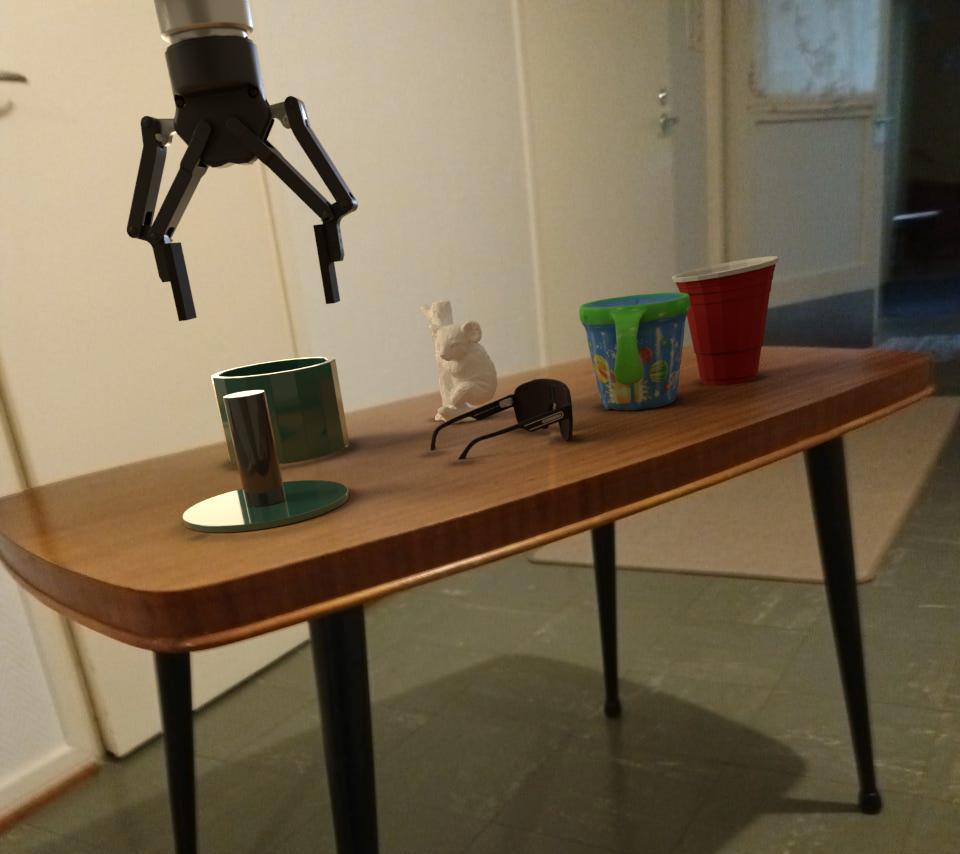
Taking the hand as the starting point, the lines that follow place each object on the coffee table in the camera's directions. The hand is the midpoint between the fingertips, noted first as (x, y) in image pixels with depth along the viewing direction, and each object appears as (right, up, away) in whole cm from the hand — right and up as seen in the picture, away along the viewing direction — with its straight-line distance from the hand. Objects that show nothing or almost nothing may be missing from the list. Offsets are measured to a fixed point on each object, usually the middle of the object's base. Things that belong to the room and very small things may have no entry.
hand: (260, 311), depth 89 cm
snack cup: (+36, -6, +9) cm, 38 cm away
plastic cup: (+47, -2, +17) cm, 49 cm away
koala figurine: (+18, -7, +13) cm, 24 cm away
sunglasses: (+22, -13, -2) cm, 26 cm away
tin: (+2, -12, +6) cm, 14 cm away
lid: (+4, -20, -15) cm, 25 cm away
